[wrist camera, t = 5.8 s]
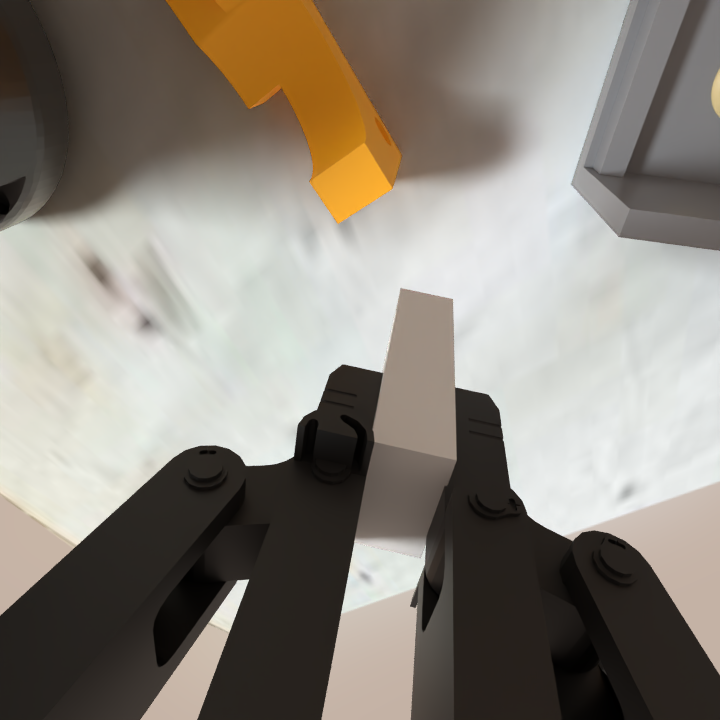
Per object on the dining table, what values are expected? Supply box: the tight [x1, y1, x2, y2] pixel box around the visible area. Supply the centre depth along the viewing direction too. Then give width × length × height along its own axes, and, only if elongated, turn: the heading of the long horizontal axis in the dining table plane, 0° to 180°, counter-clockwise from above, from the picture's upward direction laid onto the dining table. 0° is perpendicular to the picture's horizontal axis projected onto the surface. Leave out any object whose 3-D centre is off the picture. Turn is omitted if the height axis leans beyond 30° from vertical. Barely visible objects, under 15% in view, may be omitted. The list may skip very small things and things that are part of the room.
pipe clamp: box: [166, 0, 402, 224], centre depth 20 cm, size 12×4×6 cm, turn 34°
